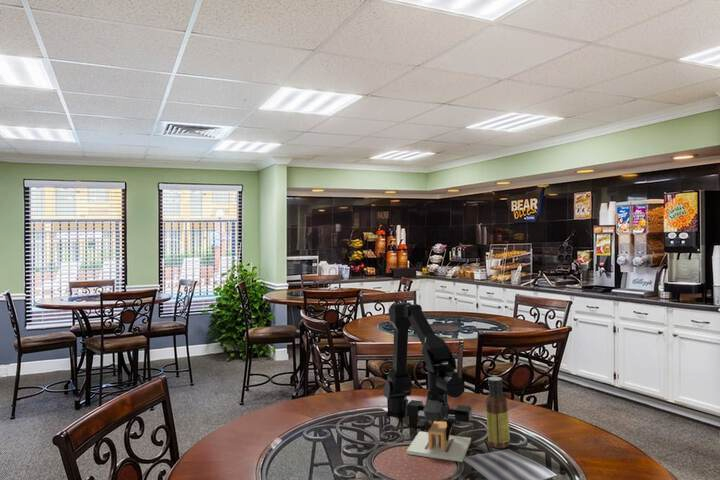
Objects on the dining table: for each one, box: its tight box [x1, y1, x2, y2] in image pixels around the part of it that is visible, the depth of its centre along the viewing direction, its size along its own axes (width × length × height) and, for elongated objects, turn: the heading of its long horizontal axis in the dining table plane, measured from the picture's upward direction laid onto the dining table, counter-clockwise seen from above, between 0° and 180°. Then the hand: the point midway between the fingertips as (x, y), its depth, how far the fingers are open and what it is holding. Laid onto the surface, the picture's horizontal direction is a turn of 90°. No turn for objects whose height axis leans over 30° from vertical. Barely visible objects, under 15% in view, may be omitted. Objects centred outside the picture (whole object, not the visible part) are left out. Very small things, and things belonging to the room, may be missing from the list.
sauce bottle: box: [485, 376, 511, 449], centre depth 150 cm, size 7×6×20 cm
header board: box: [406, 431, 472, 463], centre depth 149 cm, size 16×14×5 cm
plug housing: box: [427, 420, 450, 450], centre depth 149 cm, size 8×4×5 cm, turn 158°
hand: (439, 439), depth 149 cm, fingers closed on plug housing, 4 cm apart
